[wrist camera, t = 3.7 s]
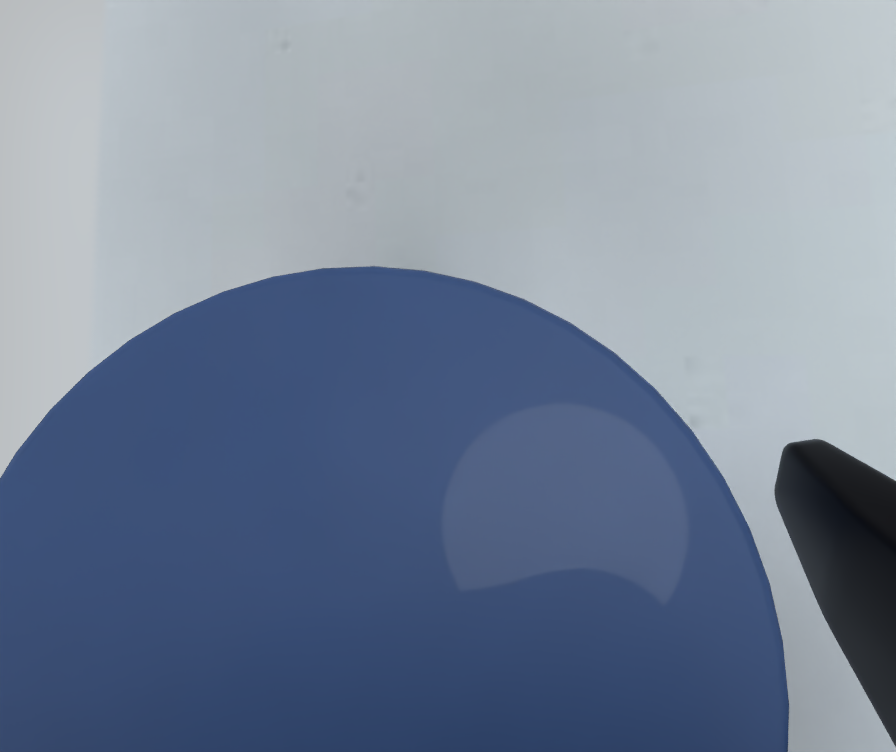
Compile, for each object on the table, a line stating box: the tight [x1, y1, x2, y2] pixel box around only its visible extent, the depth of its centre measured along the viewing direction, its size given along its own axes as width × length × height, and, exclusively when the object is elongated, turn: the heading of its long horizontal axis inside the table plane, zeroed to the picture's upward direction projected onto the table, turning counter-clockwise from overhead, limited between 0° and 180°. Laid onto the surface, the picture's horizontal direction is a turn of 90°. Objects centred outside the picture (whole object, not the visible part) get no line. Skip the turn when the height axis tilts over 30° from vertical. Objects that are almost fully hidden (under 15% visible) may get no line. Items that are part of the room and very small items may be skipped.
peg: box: [0, 266, 789, 752], centre depth 9 cm, size 3×3×14 cm
